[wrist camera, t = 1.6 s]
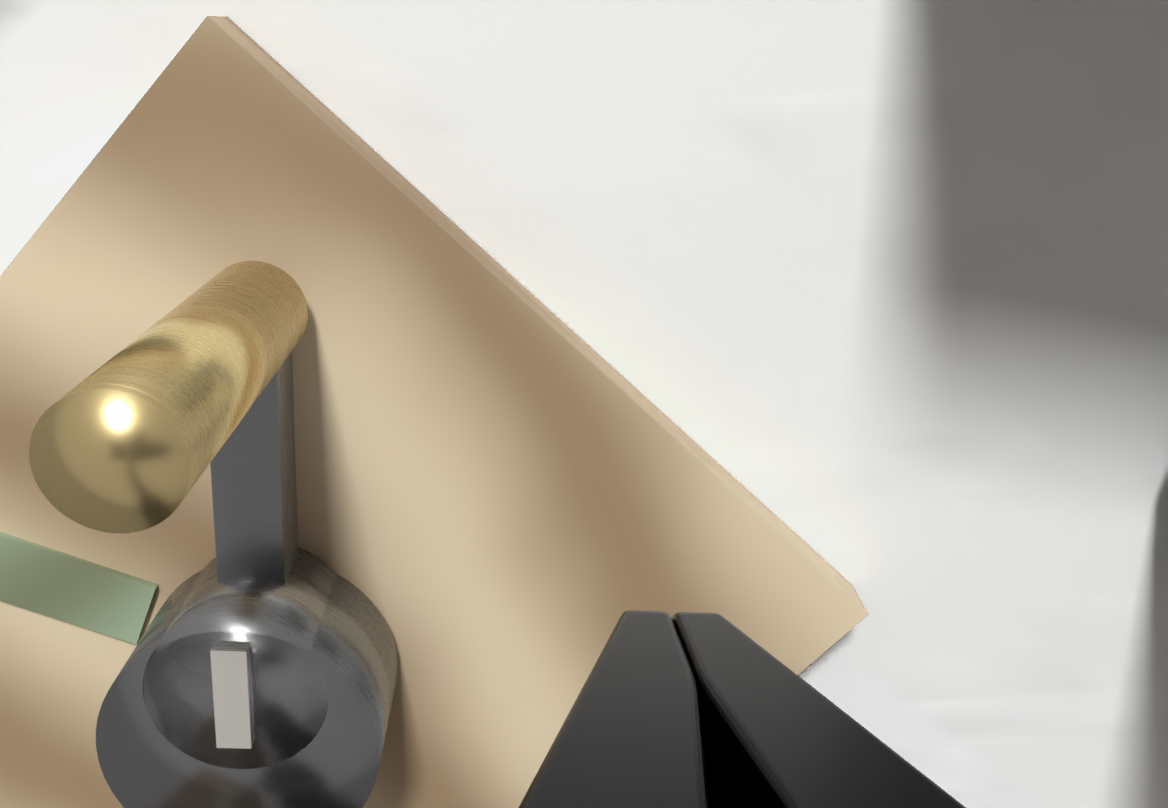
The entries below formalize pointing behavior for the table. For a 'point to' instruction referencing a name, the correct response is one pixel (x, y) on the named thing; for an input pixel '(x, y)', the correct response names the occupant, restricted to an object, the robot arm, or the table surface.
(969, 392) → the table surface
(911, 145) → the table surface
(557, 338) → the stand
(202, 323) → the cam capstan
